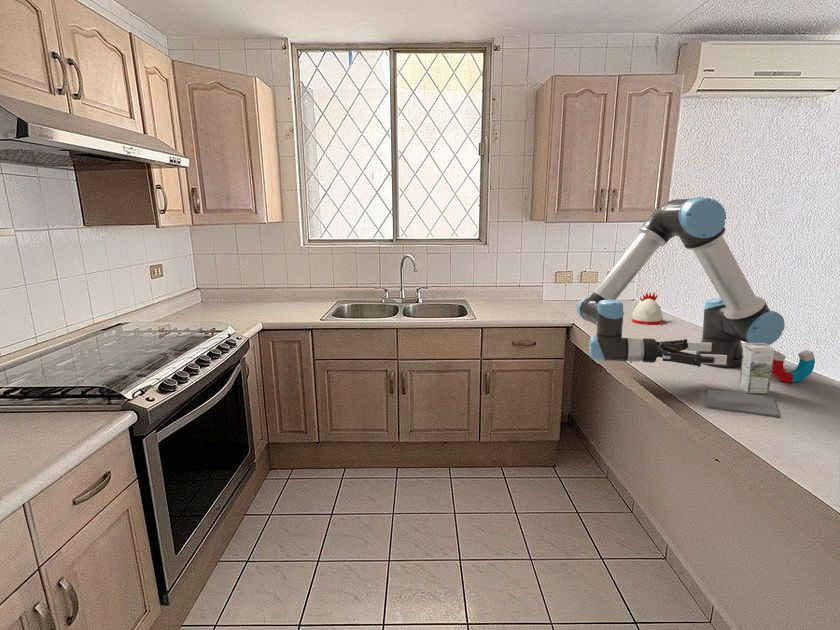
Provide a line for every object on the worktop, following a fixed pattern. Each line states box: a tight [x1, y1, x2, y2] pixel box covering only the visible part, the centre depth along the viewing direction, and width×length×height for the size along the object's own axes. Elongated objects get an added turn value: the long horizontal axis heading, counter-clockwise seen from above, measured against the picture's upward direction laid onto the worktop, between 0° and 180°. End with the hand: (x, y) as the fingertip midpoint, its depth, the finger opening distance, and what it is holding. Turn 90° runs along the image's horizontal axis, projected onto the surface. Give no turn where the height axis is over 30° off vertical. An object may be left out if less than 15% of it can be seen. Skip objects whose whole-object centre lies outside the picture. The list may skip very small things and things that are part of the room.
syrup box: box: [738, 342, 775, 395], centre depth 136 cm, size 6×6×14 cm
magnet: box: [771, 349, 816, 383], centre depth 142 cm, size 12×3×10 cm, turn 84°
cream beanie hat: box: [631, 291, 664, 326], centre depth 227 cm, size 14×14×15 cm
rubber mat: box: [706, 388, 780, 418], centre depth 129 cm, size 14×16×1 cm
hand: (718, 353), depth 138 cm, fingers open, 13 cm apart
